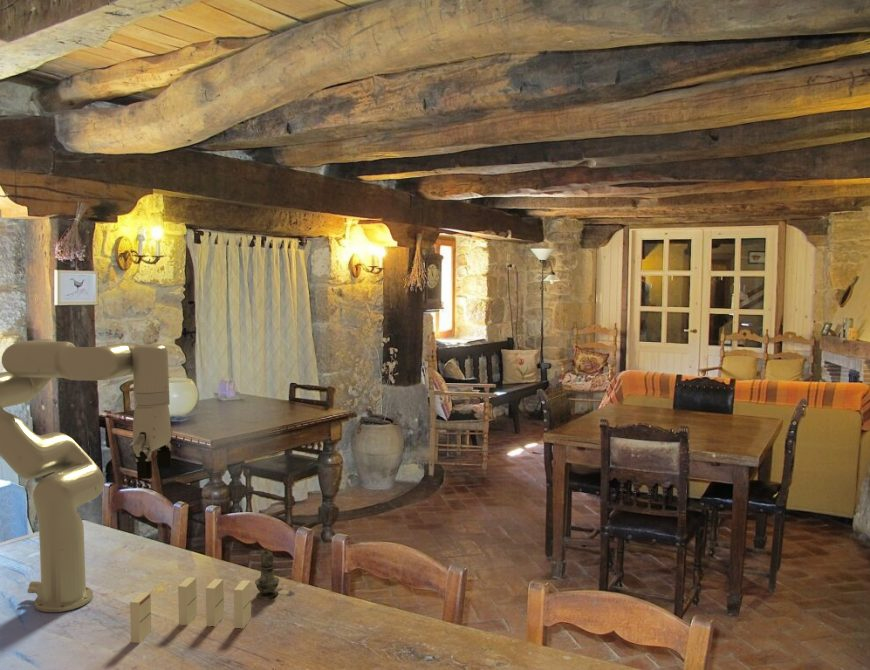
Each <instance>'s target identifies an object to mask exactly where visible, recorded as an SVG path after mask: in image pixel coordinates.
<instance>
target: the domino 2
mask: <svg viewBox="0 0 870 670" xmlns="http://www.w3.org/2000/svg"><path fill="white" fill-rule="evenodd" d="M197 586H198V585H197V577H192V576H191V577H190V576H189V577H186V579H184V580H183V581H182V582H181V583H180V584H178V586H177V588H178V592H177V593H178V594H177V595H178V597H177V598H178V625H180V626H189V624H191V622H192V621H193V620H194V619H195V618H196V617H197V616H198V599H197V597H198V596H197V592H198V591H197ZM196 615H197V616H196ZM195 616H196V617H195ZM194 617H195V618H194ZM193 618H194V619H193ZM192 619H193V620H192Z"/></svg>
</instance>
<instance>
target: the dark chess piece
mask: <svg viewBox="0 0 870 670" xmlns="http://www.w3.org/2000/svg"><path fill="white" fill-rule="evenodd" d="M260 554H261V556H260V565H259V568H260V577H258V578H257V579H256V580H255V581H254V584H255V586H256V588H257V590H258V592H257V594H256V599H258V600H261V601H262V600H263V601H269V600H273V599H275V598H277V597H278V596H279V592H278V591H277V588H278V586H279V583H280V578H278V577H276V576H275V574H274V568H275V564H274V554H273V552H272V551H269V548H268V547H267V548H265V550H264V551H263V552H261V553H260Z"/></svg>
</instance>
